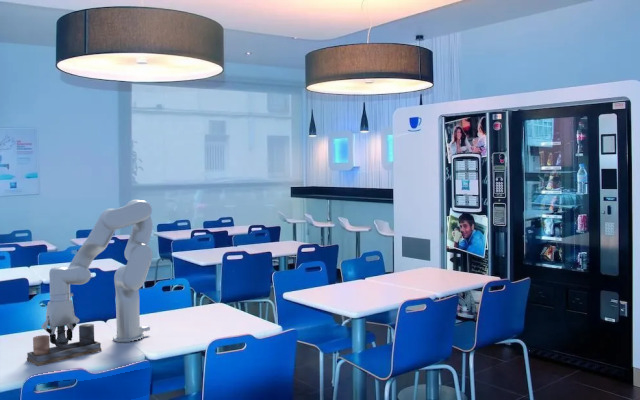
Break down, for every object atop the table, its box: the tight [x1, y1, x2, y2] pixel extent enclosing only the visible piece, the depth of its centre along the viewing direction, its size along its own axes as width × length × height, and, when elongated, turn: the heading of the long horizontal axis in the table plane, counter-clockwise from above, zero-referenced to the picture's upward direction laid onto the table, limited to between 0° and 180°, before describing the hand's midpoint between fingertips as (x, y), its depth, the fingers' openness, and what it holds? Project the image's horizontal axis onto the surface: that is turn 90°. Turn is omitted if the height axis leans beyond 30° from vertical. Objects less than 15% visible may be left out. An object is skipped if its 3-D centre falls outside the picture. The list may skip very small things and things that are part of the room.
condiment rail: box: [26, 323, 102, 367], centre depth 236 cm, size 25×10×10 cm, turn 138°
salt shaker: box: [54, 325, 69, 347], centre depth 246 cm, size 6×6×12 cm
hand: (61, 341), depth 246 cm, fingers closed on salt shaker, 5 cm apart
